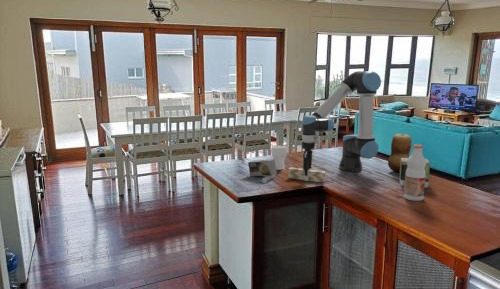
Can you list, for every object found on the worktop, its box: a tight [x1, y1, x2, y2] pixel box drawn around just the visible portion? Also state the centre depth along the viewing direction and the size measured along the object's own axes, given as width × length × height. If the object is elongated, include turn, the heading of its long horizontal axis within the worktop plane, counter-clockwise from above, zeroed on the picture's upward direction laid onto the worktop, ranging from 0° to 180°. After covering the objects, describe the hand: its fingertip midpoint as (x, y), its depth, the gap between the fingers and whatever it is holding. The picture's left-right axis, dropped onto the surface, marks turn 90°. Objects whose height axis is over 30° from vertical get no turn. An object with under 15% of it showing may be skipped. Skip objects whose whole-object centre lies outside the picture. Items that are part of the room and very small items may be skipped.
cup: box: [270, 144, 288, 171], centre depth 256 cm, size 11×11×15 cm
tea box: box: [399, 158, 431, 189], centre depth 219 cm, size 15×10×15 cm, turn 71°
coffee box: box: [247, 158, 278, 177], centre depth 236 cm, size 9×6×16 cm
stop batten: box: [261, 173, 277, 184], centre depth 233 cm, size 2×20×2 cm, turn 157°
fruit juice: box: [403, 143, 426, 202], centre depth 194 cm, size 9×9×28 cm
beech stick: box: [287, 167, 326, 184], centre depth 229 cm, size 22×3×6 cm, turn 67°
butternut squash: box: [387, 133, 412, 173], centre depth 246 cm, size 14×13×25 cm
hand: (306, 179), depth 230 cm, fingers open, 3 cm apart
